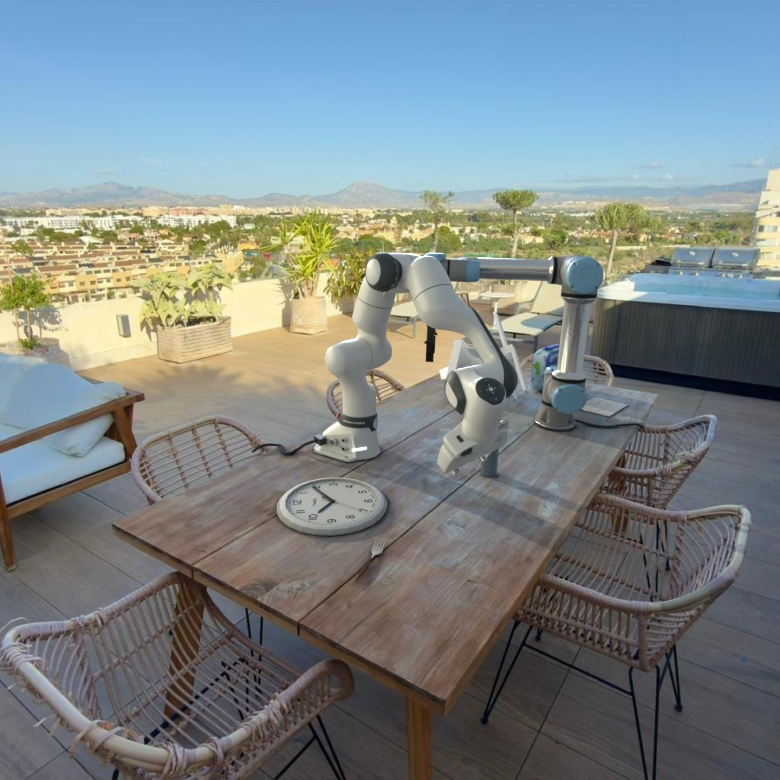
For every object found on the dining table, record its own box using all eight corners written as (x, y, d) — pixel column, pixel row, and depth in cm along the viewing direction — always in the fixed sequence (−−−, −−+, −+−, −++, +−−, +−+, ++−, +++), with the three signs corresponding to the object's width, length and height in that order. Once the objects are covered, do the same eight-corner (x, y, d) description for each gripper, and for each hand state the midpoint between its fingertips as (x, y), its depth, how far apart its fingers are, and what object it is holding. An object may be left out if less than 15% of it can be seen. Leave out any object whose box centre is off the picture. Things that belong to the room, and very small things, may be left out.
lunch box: (547, 396, 238) (552, 351, 232) (526, 391, 246) (531, 347, 239) (574, 385, 256) (579, 343, 250) (554, 380, 263) (559, 340, 257)
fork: (349, 582, 112) (349, 574, 111) (377, 542, 126) (377, 535, 125) (361, 585, 111) (361, 577, 110) (387, 544, 125) (387, 537, 125)
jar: (499, 472, 164) (503, 425, 159) (493, 478, 160) (497, 430, 155) (484, 468, 166) (487, 422, 161) (478, 474, 162) (481, 427, 157)
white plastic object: (461, 429, 252) (437, 405, 227) (444, 352, 274) (420, 323, 250) (535, 404, 240) (518, 377, 215) (510, 326, 262) (492, 293, 237)
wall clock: (392, 527, 129) (268, 531, 127) (391, 533, 130) (269, 537, 127) (383, 473, 158) (282, 475, 155) (383, 478, 158) (282, 480, 156)
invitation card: (608, 416, 214) (573, 407, 224) (608, 416, 214) (573, 408, 224) (628, 404, 229) (594, 396, 238) (628, 405, 229) (594, 397, 238)
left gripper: (502, 410, 136) (491, 443, 146) (437, 439, 128) (431, 471, 138) (518, 426, 132) (506, 459, 142) (452, 457, 124) (444, 489, 134)
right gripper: (424, 293, 195) (422, 349, 202) (419, 302, 172) (417, 365, 178) (444, 294, 195) (441, 350, 201) (442, 303, 171) (439, 366, 177)
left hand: (468, 465), depth 140 cm, fingers open, 8 cm apart
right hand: (430, 357), depth 190 cm, fingers open, 13 cm apart
